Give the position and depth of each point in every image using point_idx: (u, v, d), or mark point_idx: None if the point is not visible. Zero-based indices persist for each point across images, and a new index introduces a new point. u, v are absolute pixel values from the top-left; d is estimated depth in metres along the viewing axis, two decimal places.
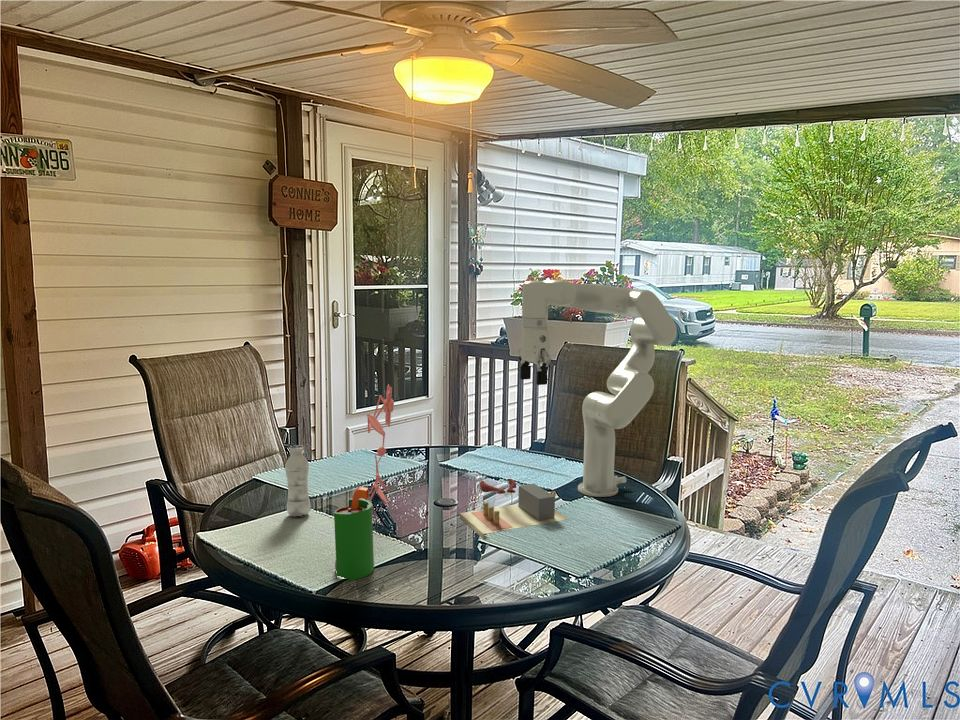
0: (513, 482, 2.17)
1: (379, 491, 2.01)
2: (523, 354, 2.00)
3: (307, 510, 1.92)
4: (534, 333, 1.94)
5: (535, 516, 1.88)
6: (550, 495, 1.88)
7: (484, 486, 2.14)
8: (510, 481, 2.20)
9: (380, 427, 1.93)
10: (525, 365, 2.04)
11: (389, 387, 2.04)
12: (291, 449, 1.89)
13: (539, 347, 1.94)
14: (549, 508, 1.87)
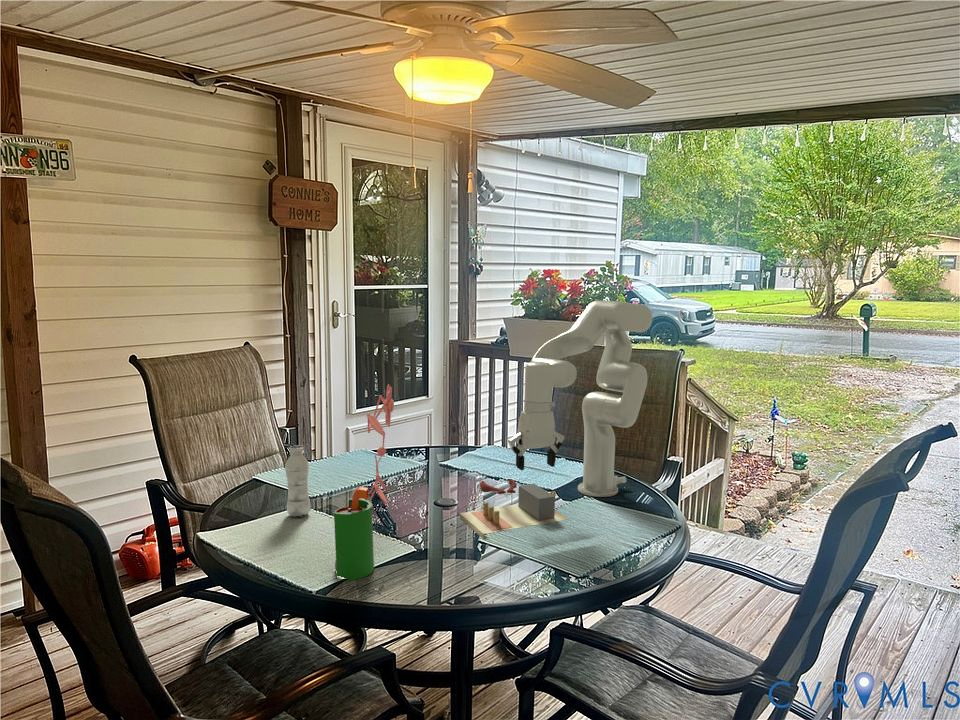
0: (513, 482, 2.17)
1: (379, 491, 2.01)
2: (532, 442, 1.86)
3: (307, 510, 1.92)
4: (552, 416, 1.88)
5: (535, 516, 1.88)
6: (550, 495, 1.88)
7: (484, 486, 2.14)
8: (510, 481, 2.20)
9: (380, 427, 1.93)
10: None
11: (389, 387, 2.04)
12: (291, 449, 1.89)
13: None
14: (549, 508, 1.87)
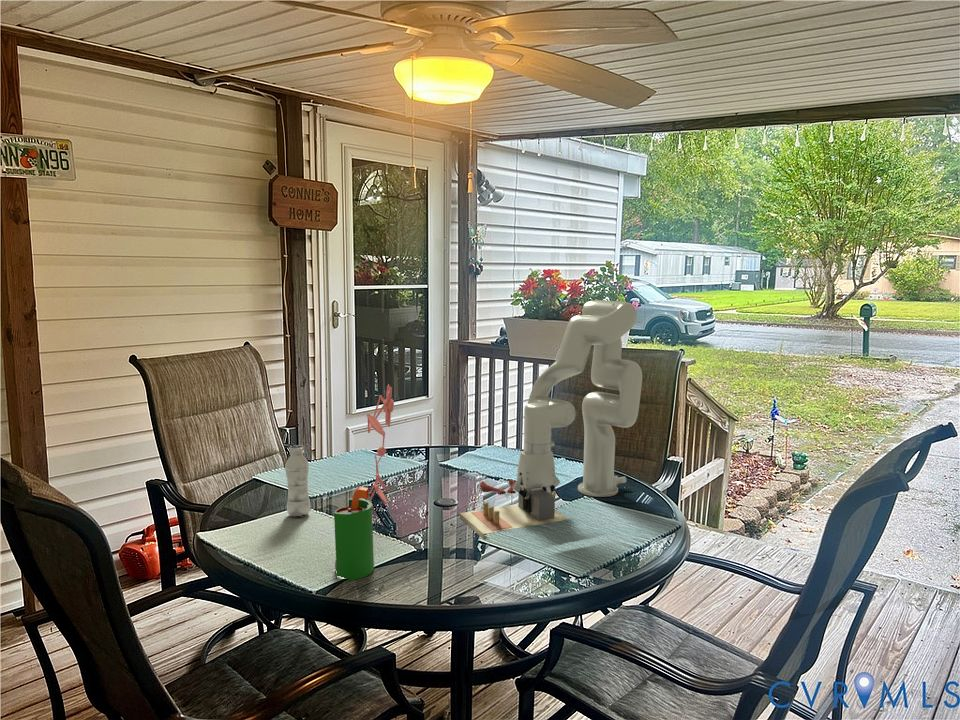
0: (514, 483, 2.17)
1: (379, 491, 2.01)
2: (532, 482, 1.88)
3: (307, 510, 1.92)
4: (551, 456, 1.90)
5: (535, 516, 1.88)
6: (550, 495, 1.88)
7: (484, 487, 2.14)
8: (511, 482, 2.19)
9: (380, 427, 1.93)
10: None
11: (389, 387, 2.04)
12: (291, 449, 1.89)
13: None
14: (549, 508, 1.87)
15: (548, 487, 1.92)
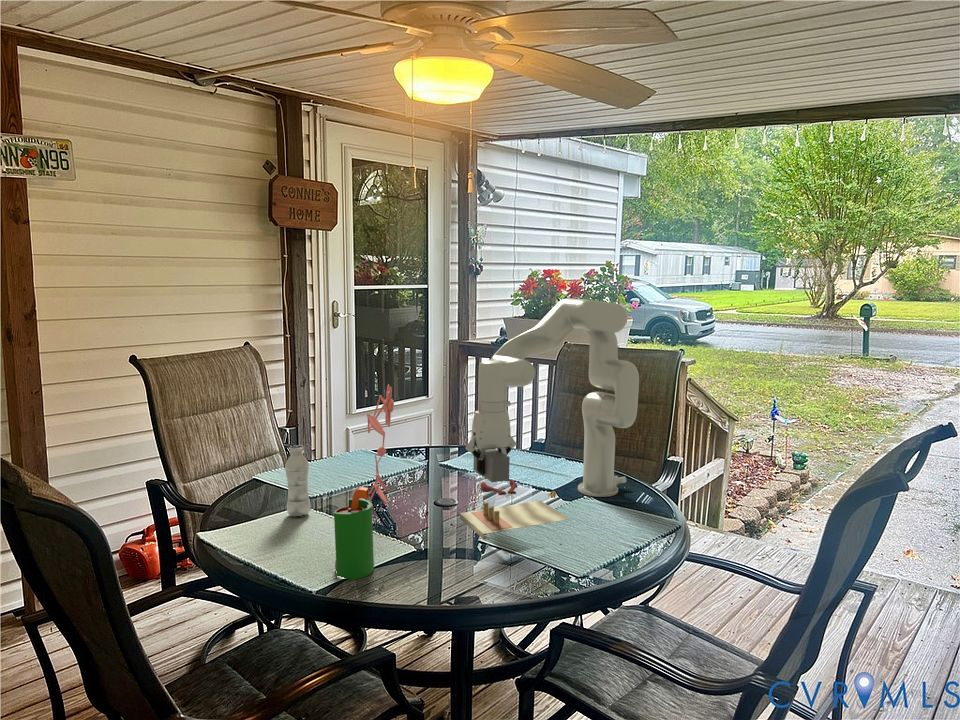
0: (514, 483, 2.16)
1: (379, 491, 2.01)
2: (486, 442, 1.81)
3: (307, 510, 1.92)
4: (506, 415, 1.82)
5: (489, 477, 1.80)
6: (505, 456, 1.80)
7: (485, 487, 2.13)
8: (511, 482, 2.19)
9: (380, 427, 1.93)
10: None
11: (389, 387, 2.04)
12: (291, 449, 1.89)
13: None
14: (503, 469, 1.79)
15: (503, 448, 1.84)
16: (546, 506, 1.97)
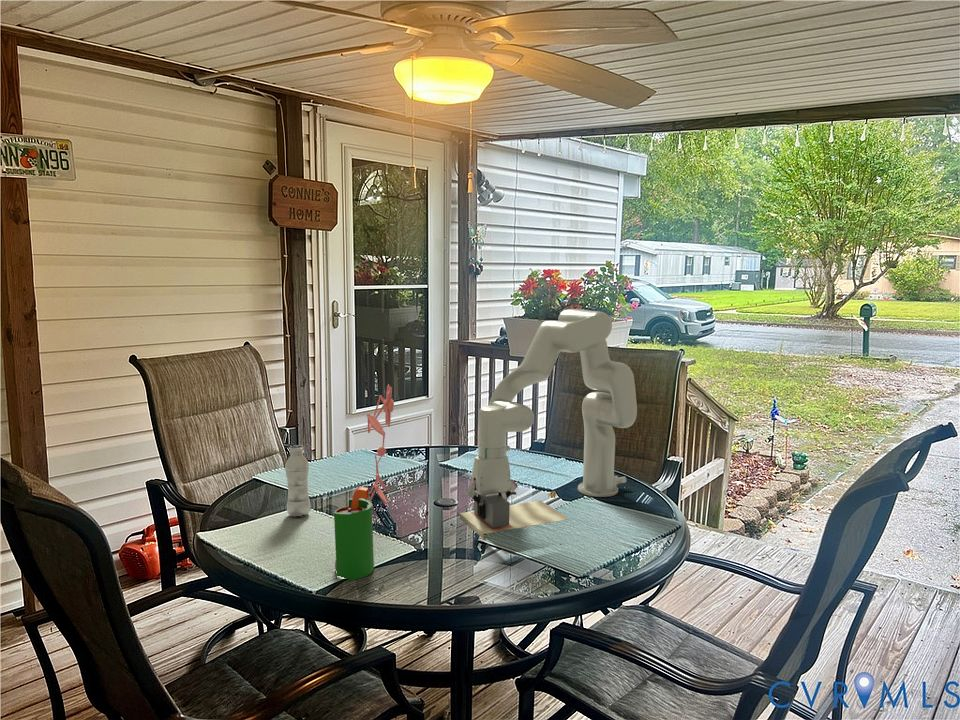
0: (514, 484, 2.16)
1: (379, 491, 2.01)
2: (486, 488, 1.83)
3: (307, 510, 1.92)
4: (506, 461, 1.84)
5: (489, 523, 1.82)
6: (505, 501, 1.82)
7: None
8: None
9: (380, 427, 1.93)
10: None
11: (389, 387, 2.04)
12: (291, 449, 1.89)
13: None
14: (503, 514, 1.81)
15: (503, 493, 1.86)
16: (546, 506, 1.97)
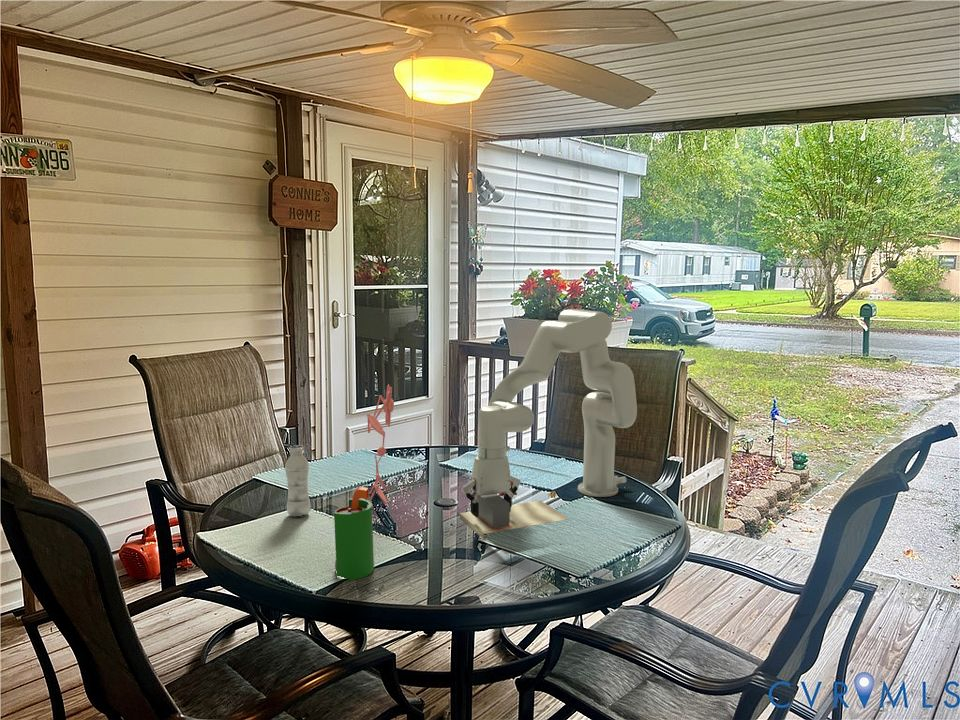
0: None
1: (379, 491, 2.01)
2: (486, 488, 1.83)
3: (307, 510, 1.92)
4: (506, 461, 1.84)
5: (489, 523, 1.82)
6: (505, 502, 1.82)
7: None
8: (512, 483, 2.18)
9: (380, 427, 1.93)
10: None
11: (389, 387, 2.04)
12: (291, 449, 1.89)
13: None
14: (504, 515, 1.81)
15: (507, 490, 1.86)
16: (546, 506, 1.97)
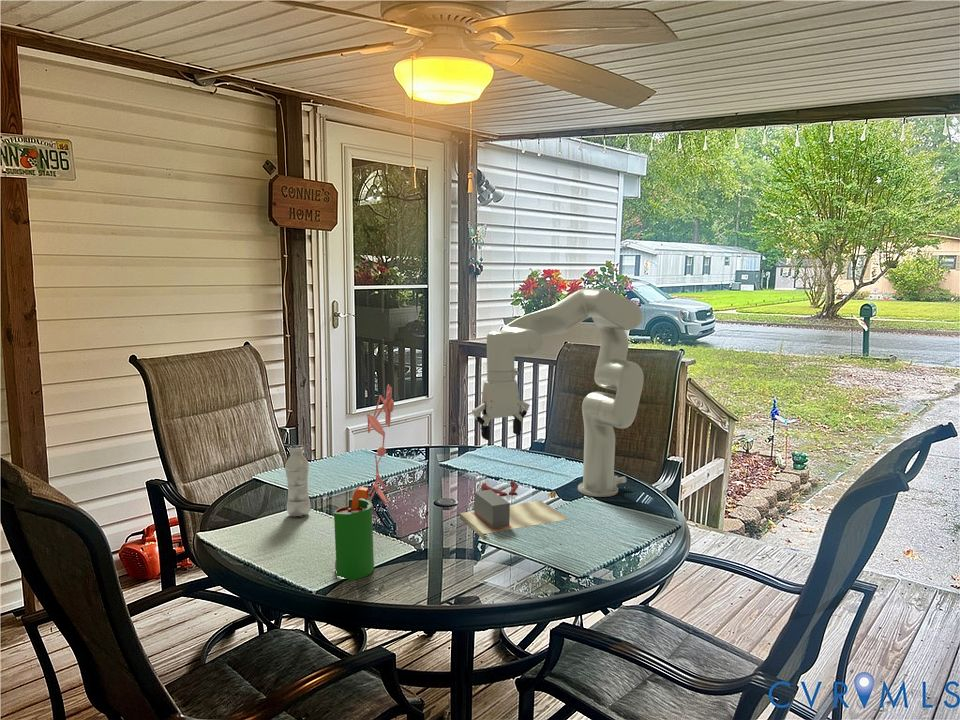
0: (515, 485, 2.15)
1: (379, 491, 2.01)
2: (497, 411, 1.85)
3: (307, 510, 1.92)
4: (515, 384, 1.87)
5: (489, 523, 1.82)
6: (505, 502, 1.82)
7: (486, 489, 2.12)
8: (512, 483, 2.18)
9: (380, 427, 1.93)
10: None
11: (389, 387, 2.04)
12: (291, 449, 1.89)
13: None
14: (504, 515, 1.81)
15: (517, 413, 1.89)
16: (546, 506, 1.97)
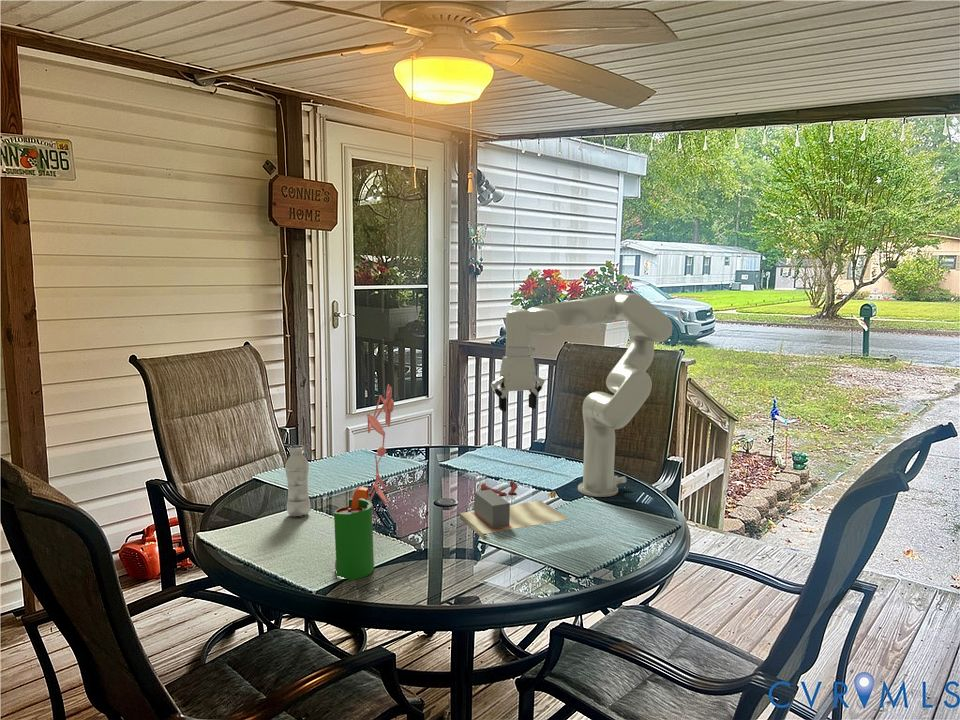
0: (515, 485, 2.15)
1: (379, 491, 2.01)
2: (514, 384, 1.98)
3: (307, 510, 1.92)
4: (532, 360, 1.99)
5: (489, 523, 1.82)
6: (505, 502, 1.82)
7: (485, 489, 2.12)
8: (512, 484, 2.18)
9: (380, 427, 1.93)
10: None
11: (389, 387, 2.04)
12: (291, 449, 1.89)
13: None
14: (504, 515, 1.81)
15: (533, 388, 2.01)
16: (546, 506, 1.97)
